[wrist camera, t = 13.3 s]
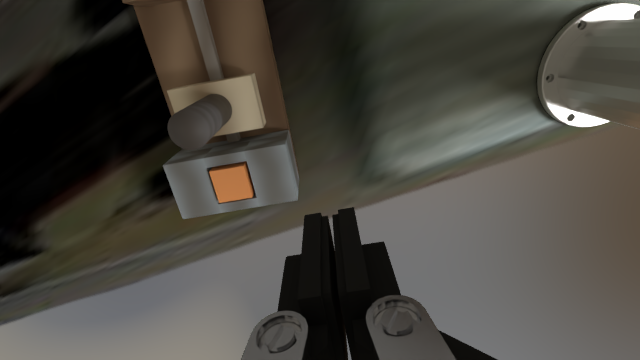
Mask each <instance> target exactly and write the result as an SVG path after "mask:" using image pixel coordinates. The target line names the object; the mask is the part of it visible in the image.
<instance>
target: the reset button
mask: <svg viewBox="0 0 640 360" xmlns="http://www.w3.org/2000/svg"><path fill="white" fill-rule="evenodd" d="M209 173H210V176H211V179H212V182H213V185H214V189H215V192H216V195H217V198H218V201H219V203H222V202H228V201H234V200H240V199H246V198H252V197H253V195H254V192H255V190H254V186H253V182H252V179H251V175H250V171H249V168H248V164H247V161H244V162H238V163H232V164H227V165H221V166H215V167H212V169H211V170H210V171H209Z"/></svg>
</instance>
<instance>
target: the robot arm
mask: <svg viewBox="0 0 640 360" xmlns="http://www.w3.org/2000/svg"><path fill="white" fill-rule="evenodd" d="M537 88H538V95H539V98H540V102H541V104H542V105H543V107H544V109H545V111H546V112H547V113H548V114H549V115H550V116H551V117H553V118H554V119H556V120H557V121H559V122H562V123H564V124H567V125H571V126H575V127H592V126H598V125H601V124H604V123H607V122H610V121H611V122H615V123H619V124H622V125H626V126H630V127H633V128H637V129H640V6H639V5H636V4H632V3H625V2H621V3H610V4H604V5H599V6H596V7H594V8H591V9H589V10H586V11H585V12H583V13H581V14H580V15H578V16H576V17H575V18H573V19H572V20H571V21H570V22H569V23H567V24H566V25H565V26H564V27H563V28H562V29H561V30H560V31H559V32H558V33H557V34H556V36H555V37H554V38H553V40H552V41H551V43H550V44H549V46H548V47H547V49H546V51H545V54H544V56H543V58H542V60H541V64H540V67H539V70H538V78H537ZM332 216H333V230H334V244H335V249H334V245H333V240H332V235H331V229H330V225H329V219H328V216H323V217H322V215H321V213H316V214H310V215H305V217H304V229H303V241H302V253H301V254H300V255H293V256H287V257H286V260H285V266H284V272H283V279H282V285H281V292H280V298H279V306H278V311H277V312H276V313H273V314H270V315H268V316H267V317H265V318H264V319H262V320H261V321H260V322H259V323H258V324H257V325H256V326H255V328H254V329H253V331H252V333H251V335H250V338H249V340H248V343H247V345H246V348H245V350H244V353H243V355H242V358H241V360H348V352H347V342H346V335H347V339H348V344H349V348H350V354H351V359H352V360H497V359H495V358H493V357H491V356H489V355H487V354H485V353H483V352H481V351H479V350H477V349H475V348H473V347H471V346H469V345H467V344H465V343H463V342H461V341H459V340H457V339H455V338H453V337H451V336H449V335H447V334H445V333H443V332H441V331H439V330H438V329H437V328H436V326H435V324H434V323H433V321H432V319H431V318H430V316H429V314H428V313H427V311H426V309H425V308H424V307H423V306H422V305H421V304H420V303H419V302H417V301H416V300H414V299H412V298H410V297H407V296H403V295H401V294H400V290H399V287H398V284H397V281H396V278H395V275H394V271H393V268H392V265H391V262H390V259H389V256H388V252H387V249H386V246H385V243H384V242H378V243H371V244H364V245H361V241H360V236H359V231H358V226H357V221H356V216H355V211H354V207H352V208H346V209H340V210H338V214H336V215H332Z"/></svg>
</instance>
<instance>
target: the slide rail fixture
mask: <svg viewBox="0 0 640 360" xmlns="http://www.w3.org/2000/svg"><path fill="white" fill-rule="evenodd" d="M122 1H123V3H125V4H130V5H133V6H134V9H135V12H136V15H137V18H138V21H139V24H140V26H141V29H142V32H143V35H144V38H145V41H146V44H147V47H148V50H149V52H150V55H151V58H152V61H153V64H154V67H155V70H156V73H157V76H158V78H159V81H160V84H161V87H162V90H163V93H164V96H165V99H166V102H167V104H168V107H169V110H170V113H171V116H172V115H174V114H175V113H174V110H173V107H172V104H171V101H170V98H169V96H168V93H167V90H170V89H173V88H176V87H181V86H186V85H192V84H197V83H203V82H208V81H214V80H219V79H224V78H230V77H235V76H241V75H246V74H252V73H255V77H256V81H257V85H258V89H259V94H260V98H261V102H262V106H263V111H264V115H265V119H266V124H265V126H264V127H263V128H259V129H253V130H248V131H242V132H236V133H231V134H225V135H219V136H214V137H212V138H211V139H210V140H209V141H208V142H207V143H206V144H205V145H204V146H203V147H201V148H199V149H196V150H186V149H183V148H182V149H181V150H180V151H179V152H178V153H177V154H175V155H174V156H173V157H172V158H171V159H170V160H168V161H167V162H166V163H165V164H164V165H163V168H164V170H165V173H166V175H167V178H168V181H169V183H170V186H171V189H172V191H173V194H174V197H175V199H176V202H177V204H178V207H179V210H180V212H181V215H182V218H183V219H188V218H194V217H200V216H205V215H211V214H217V213H223V212H229V211H235V210H241V209H247V208H253V207H259V206H265V205H271V204H277V203H283V202H289V201H295V200H298V188H299V176H298V173H299V170H298V165H297V160H296V155H295V151H294V146H293V141H292V136H291V132H290V127H289V122H288V117H287V113H286V108H285V103H284V98H283V94H282V89H281V84H280V79H279V75H278V70H277V65H276V60H275V56H274V51H273V46H272V41H271V37H270V32H269V27H268V22H267V18H266V13H265V8H264V3H263V0H122ZM244 161H247V164H248V168H249V171H250V175H251V179H252V182H253V186H254V190H255V192H254V195H253V197H252V198H246V199H240V200H234V201H228V202H222V203H219V201H218V198H217V195H216V192H215V189H214V185H213V182H212V179H211V176H210V173H209V171H210V170H211V169H212V167H215V166H221V165H227V164H232V163H238V162H244Z"/></svg>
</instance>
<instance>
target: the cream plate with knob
mask: <svg viewBox="0 0 640 360" xmlns="http://www.w3.org/2000/svg"><path fill="white" fill-rule="evenodd" d="M167 93H168V96H169V98H170V101H171V104H172V107H173V110H174V113H175V114H174V115H172V116H171V118H170V119H169V122H168V133H169V136H170V138H171V140H172V141H173V142H174V143H175V144H176V145H177V146H179V147H181V148H183V149H186V150H196V149H199V148H201V147H203V146H204V145H205V144H206V143H207V142H208V141H209V140H210V139H211V138H212V137H214V136H219V135H225V134H231V133H236V132H242V131H248V130H253V129H259V128H263V127H264V126H265V124H266V119H265V115H264V111H263V106H262V102H261V98H260V94H259V89H258V85H257V81H256V77H255V73H252V74H246V75H241V76H235V77H230V78H224V79H219V80H214V81H208V82H203V83H197V84H192V85H186V86H181V87H176V88H173V89H170V90H167Z"/></svg>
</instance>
